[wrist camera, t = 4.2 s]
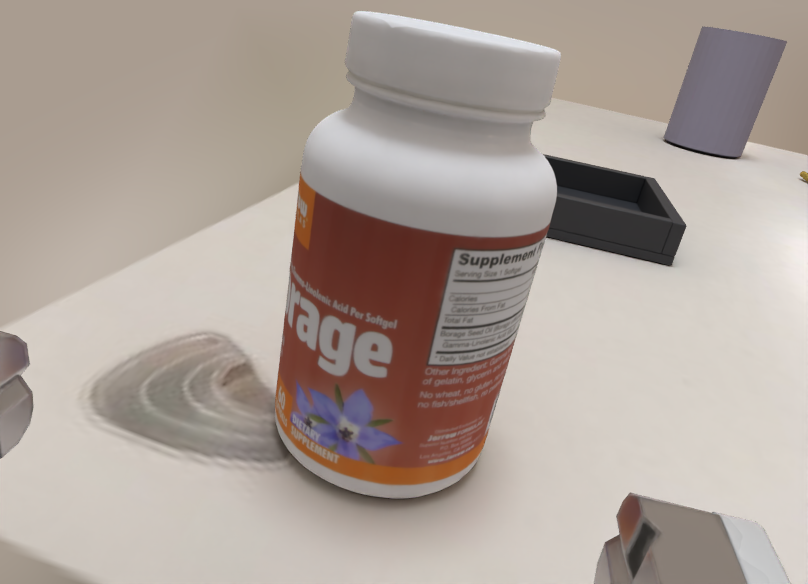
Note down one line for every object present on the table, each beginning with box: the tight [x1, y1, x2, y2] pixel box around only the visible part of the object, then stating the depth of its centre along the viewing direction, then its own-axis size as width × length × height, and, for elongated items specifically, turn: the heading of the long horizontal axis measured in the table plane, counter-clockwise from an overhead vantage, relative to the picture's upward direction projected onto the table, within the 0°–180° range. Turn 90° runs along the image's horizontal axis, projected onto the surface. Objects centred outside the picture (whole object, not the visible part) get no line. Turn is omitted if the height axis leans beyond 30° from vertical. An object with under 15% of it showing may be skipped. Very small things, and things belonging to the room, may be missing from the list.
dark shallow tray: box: [543, 154, 686, 265], centre depth 43 cm, size 13×13×3 cm
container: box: [664, 27, 787, 158], centre depth 84 cm, size 10×10×15 cm
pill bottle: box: [275, 11, 561, 499], centre depth 16 cm, size 6×6×11 cm
